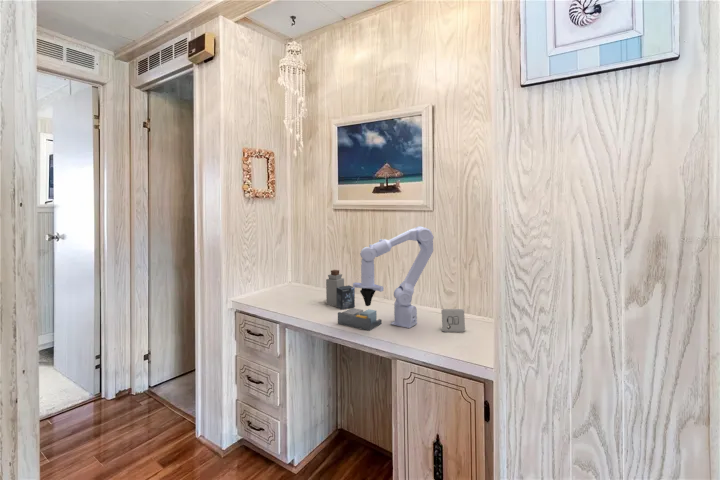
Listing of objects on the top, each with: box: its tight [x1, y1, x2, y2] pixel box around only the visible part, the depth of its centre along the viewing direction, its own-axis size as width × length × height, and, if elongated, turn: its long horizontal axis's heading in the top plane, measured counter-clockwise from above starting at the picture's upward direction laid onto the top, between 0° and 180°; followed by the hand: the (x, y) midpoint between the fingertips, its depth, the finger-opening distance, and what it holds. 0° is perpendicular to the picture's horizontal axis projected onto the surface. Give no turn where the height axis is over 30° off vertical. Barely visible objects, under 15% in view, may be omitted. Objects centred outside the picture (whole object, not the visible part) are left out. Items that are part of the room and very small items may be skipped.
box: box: [336, 284, 356, 310], centre depth 189 cm, size 8×6×11 cm
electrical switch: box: [441, 308, 466, 333], centre depth 156 cm, size 9×5×9 cm, turn 87°
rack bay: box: [337, 307, 383, 331], centre depth 164 cm, size 17×10×6 cm, turn 57°
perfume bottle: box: [325, 269, 345, 307], centre depth 195 cm, size 7×7×18 cm
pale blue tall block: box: [360, 308, 378, 323], centre depth 163 cm, size 4×7×6 cm, turn 146°
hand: (367, 305), depth 162 cm, fingers closed
